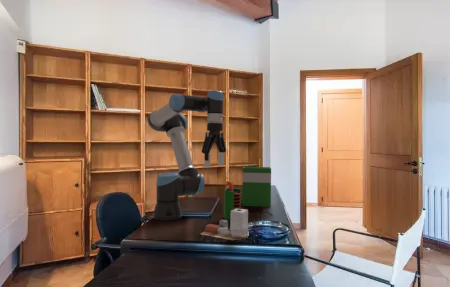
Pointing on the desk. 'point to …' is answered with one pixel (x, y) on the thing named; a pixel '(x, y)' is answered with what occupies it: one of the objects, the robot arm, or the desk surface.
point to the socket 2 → (239, 220)
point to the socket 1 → (223, 223)
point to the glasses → (254, 213)
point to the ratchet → (226, 231)
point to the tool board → (218, 235)
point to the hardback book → (256, 186)
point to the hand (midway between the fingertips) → (214, 166)
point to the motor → (231, 200)
